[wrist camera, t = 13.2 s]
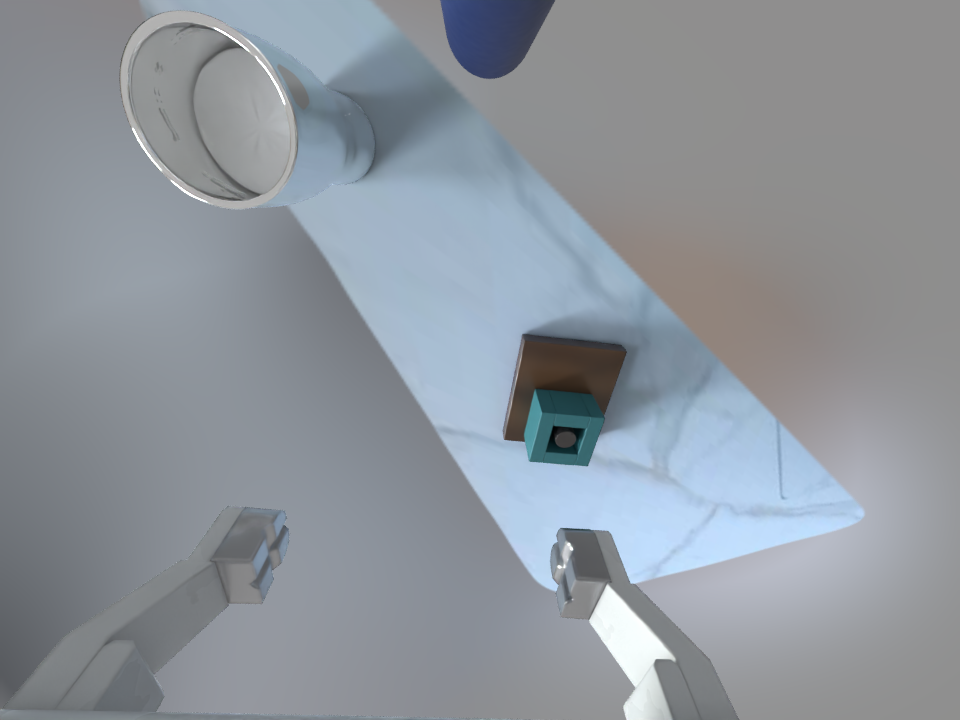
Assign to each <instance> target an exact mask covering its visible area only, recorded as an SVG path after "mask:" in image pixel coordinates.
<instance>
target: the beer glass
mask: <svg viewBox="0 0 960 720" xmlns="http://www.w3.org/2000/svg"><path fill="white" fill-rule="evenodd" d="M120 91H121V97H122V102H123V107H124V110H125V113H126V116H127V119H128V122H129V124H130V126H131V128H132V131H133V133H134V135H135V137H136V138H137V140H138V142H139V144H140V145H141V147H142V148H143V150H144V152H145V153H146V154H147V156H148V157H149V158H150V160H151V161H152V162H153V163H154V165H155V166H156V167H157V168H158V169H159V170H160V171H161V172H162V173H163V174H164V175H165V176H166V177H167V178H168V179H169V180H170V181H171V182H173V183H174V184H175V185H177V186H178V187H179V188H180V189H182V190H183V191H185V192H186V193H188V194H189V195H191V196H193V197H195V198H197V199H199V200H201V201H203V202H205V203H208V204H211V205H214V206H217V207H222V208H228V209H250V208H256V207H257V208H259V207H276V206H284V205H290V204H295V203H298V202H301V201H304V200H307V199H310V198H313V197H315V196H317V195H318V194H320V193H321V192H323V191H324V190H326V189H327V188H329V187H330V186H331V185H332V184H334V185H347V184H351V183H354V182H356V181H358V180H359V179H361V178H362V177H363V176H364V175H365V174H366V173H367V171H368V170H369V168H370V167H371V164H372V162H373V159H374V154H375V138H374V133H373V130H372V127H371V124H370V122H369V120H368V118H367V116H366V114H365V113H364V112H363V110H362V109H361V108H360V107H359V106H358V105H357V104H356V103H355V102H354V101H353V100H352V99H350V98H349V97H347V96H346V95H344V94H342V93H339V92H336V91H332V90H328V89H327V87H326V86H325V85H324V84H323V83H322V82H321V81H320V80H319V79H318V78H317V77H316V75H315V74H314V73H313V72H312V71H311V70H310V69H308V68H307V67H306V66H305V65H304V64H303V63H301V62H300V61H298V60H297V59H296V58H294V57H293V56H291V55H290V54H288V53H287V52H285V51H284V50H282V49H281V48H279V47H277V46H275V45H273V44H271V43H269V42H268V41H266V40H264V39H262V38H260V37H258V36H255V35H253V34H251V33H248V32H246V31H243V30H241V29H238V28H236V27H233V26H230V25H228V24H226V23H225V22H223V21H221V20H219V19H216V18H214V17H212V16H209V15H206V14H202V13H199V12H194V11H186V10H175V11H167V12H163V13H160V14H157V15H154V16H152V17H150V18H149V19H147V20H146V21H144V22H143V23H142V24H141V25H140V26H138V27H137V29H136V30H135V31H134V32H133V33H132V35H131V36H130V38H129V40H128V42H127V44H126V46H125V49H124V52H123V55H122V59H121V65H120Z"/></svg>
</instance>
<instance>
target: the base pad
mask: <svg viewBox="0 0 960 720" xmlns="http://www.w3.org/2000/svg"><path fill="white" fill-rule="evenodd" d="M626 353H627V351H626V350H625V349H624V348H623V347H622V345H615V344H606V343H597V342H588V341H579V340H570V339H561V338H552V337H543V336H534V335H525V334H523V335H522V339H521V344H520V349H519V354H518V359H517V364H516V369H515V374H514V379H513V383H512V388H511V393H510V398H509V403H508V408H507V413H506V418H505V423H504V428H503V437H504V440H511V441H522V442H525V438H524V433H525V428H526V424H527V420H528V416H529V412H530V408H531V403H532V399H533V395H534V391H535V389H542V390H553V391H563V392H573V393H579V394H580V393H582V394H592V395H593V397H594V398H595V400H596V402H597V404H598V406H599V408H600V410H601V412H602V413H603V415H604V414H605V412H606V409H607V406H608V403H609V400H610V398H611V395H612V392H613V389H614V386H615V384H616V381H617V378H618V375H619V372H620V370H621V367H622V364H623V361H624V358H625V356H626ZM552 432H553V436H554V439H555V442H556V444H557V445H558V446H559V447H562V448H567V447H570V446H572V445H573V444H574V443H575V441H576V435H575V432H574V430H573V427H562V426H553V428H552Z"/></svg>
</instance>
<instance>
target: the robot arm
mask: <svg viewBox="0 0 960 720" xmlns="http://www.w3.org/2000/svg"><path fill="white" fill-rule="evenodd" d="M285 521H286V513H285V511H283V510H272V509H261V508H250V507H237V506H227V507H226V508H225V509H224V510H222V512H221V513H220V514H219V516H218V517H217V518H216V520H215V521H214V523H213V524H212V525H211V527H210V528H209V530H208V531H207V533H206V534H205V535H204V537H203V538H202V540H201V541H200V542H199V544H198V545H197V546H196V548H195V549H194V551H193V552H192V554H191V555H190V556H189V558H188V559H187V560H180V561H178V562H177V563H175V564H174V565H172V566H171V567H169V568H168V569H166V570H165V571H163V572H162V573H160V574H159V575H157V576H156V577H154V578H152V579H151V580H149V581H148V582H146V583H145V584H143V585H142V586H140V587H139V588H137V589H135V590H134V591H133V592H131V593H129V594H128V595H126V596H125V597H123V598H122V599H120V600H119V601H117V602H116V603H114V604H113V605H111V606H109V607H108V608H106V609H105V610H103V611H102V612H100V613H99V614H97V615H96V616H94V617H93V618H91V619H90V620H88V621H86V622H85V623H83V624H82V625H80V626H79V627H77V628H76V629H74V630H73V631H71V632H69V633H68V634H66V635H65V636H64V637H63V638H62V639H61V640H60V642H59V643H58V644H57V645H56V646H55V648H54V649H53V650H52V651H51V652H50V653H49V654H48V656H47V657H46V658H45V659H44V660H43V661H42V663H41V664H40V665H39V666H38V667H37V669H36V670H35V671H34V672H33V673H32V674H31V675H30V677H29V678H28V679H27V680H26V681H25V682H24V683H23V685H22V686H21V687H20V688H19V689H18V690H17V692H16V693H15V694H14V695H13V696H12V698H11V699H10V700H9V701H8V702H7V703H6V705H5V706H4V707H3V708H2V709H0V720H527V719H482V718H480V719H479V718H432V717H384V716H383V717H381V716H335V715H333V716H332V715H285V714H284V715H283V714H235V713H231V714H230V713H184V712H156V711H157V709H158V707H159V706H160V704H161V702H162V700H163V699H164V692H163V689H162V687H161V686H160V684H159V682H158V681H157V679H156V677H155V676H154V674H155V673H156V672H158V671H159V670H160V669H161V668H162V667H163V666H164V665H165V664H166V663H167V662H168V661H169V660H170V659H172V658H173V657H174V656H175V655H176V654H177V653H178V652H179V651H180V650H181V649H182V648H183V647H184V646H186V645H187V644H188V643H189V642H190V641H191V640H192V639H193V638H194V637H195V636H196V635H197V634H199V633H200V632H201V631H202V630H203V629H204V628H205V627H206V626H207V625H208V624H209V623H210V622H212V621H213V620H214V619H215V618H216V617H217V616H218V615H219V614H220V613H221V612H222V611H223V610H225V609H226V608H227V607H228V605H229V604H262V603H263V601H264V599H265V597H266V595H267V592H268V590H269V588H270V586H271V584H272V582H273V580H274V578H273V573H272V570H274V569H275V568H276V567H277V566H279V565H280V564H281V563H282V561H283V558H284V556H285V554H286V551H287V547H288V543H289V530H288V528H287V527H286V526H285V525H284V523H285ZM556 536H557V541H558V542H557V543H555V544H554V545H553V547H552V550H551V559H550V564H551V572H552V577H553V579H554V580H555V582H556V583H557V584H558V585H559V586H558V589H557V591H556V597H557V602H558V606H559V611H560V616H561V617H563V618H576V619H589V622H590V624H591V625H592V626H593V628H594V629H595V631H596V632H597V633H598V635H599V636H600V638H601V639H602V641H603V642H604V643H605V645H606V646H607V648H608V649H609V651H610V652H611V653H612V655H613V656H614V658H615V659H616V660H617V662H618V663H619V665H620V666H621V668H622V669H623V670H624V672H625V673H626V675H627V676H628V678H629V679H630V680H631V682H632V683H633V685H634V686H635V689H634V691H633V692H632V694H631V695H630V697H629V698H628V700H627V701H626V703H625V704H624V706H623V709H624V712H625V716H626V720H739V718H738V716H737V715H736V712H735V710H734V708H733V706H732V704H731V702H730V700H729V698H728V696H727V694H726V691H725V689H724V688H723V685H722V683H721V681H720V679H719V677H718V675H717V673H716V671H715V669H714V667H713V665H712V663H711V661H710V659H709V658H708V657H707V656H706V655H705V654H704V653H703V652H702V651H701V650H700V649H699V648H698V647H697V646H696V645H695V644H694V643H693V642H692V641H691V640H690V639H689V638H688V637H687V636H686V635H685V634H684V633H683V632H682V631H681V630H680V629H679V628H678V627H677V626H676V625H675V624H674V623H673V622H672V621H671V620H670V619H669V618H668V617H667V616H666V615H665V614H664V613H663V612H662V611H661V610H660V609H659V608H658V607H657V606H656V605H655V604H654V603H653V602H652V601H651V600H650V599H649V598H648V596H647V595H646V594H644V593H643V591H641V590H640V589H639V587H638V586H637V585H636V584H630V581H629V579H628V576H627V573H626V571H625V568H624V566H623V563H622V561H621V558H620V556H619V553H618V551H617V548H616V545H615V543H614V540H613V538H612V535H611V534H610V533H609V531H600V530H591V529H570V528H560V529H559V530H558V533H557V535H556ZM528 720H531V719H528Z"/></svg>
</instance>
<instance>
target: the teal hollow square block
mask: <svg viewBox="0 0 960 720" xmlns="http://www.w3.org/2000/svg"><path fill="white" fill-rule="evenodd" d="M604 420H605V417H604V415H603V413H602V412H601V410H600V408H599V406H598V404H597V402H596V400H595V398H594V397H593V395H592V394H582V393H580V394H579V393H573V392H563V391H553V390H542V389H535V391H534V395H533V399H532V403H531V408H530V412H529V416H528V420H527V424H526V428H525V433H524V438H525V443H526V448H527V453H528V458H529V461H530V462H543V463H553V464H565V465H579V466H588V464H589V462H590V459H591V456H592V453H593V450H594V448H595V445H596V442H597V439H598V437H599V434H600V431H601V428H602V426H603V423H604ZM553 426H562V427H573V430H574V432H575V435H576V441H575V443H574V444H573V445H572V446H570V447H567V448H562V447H559V446H558V445H557V444H556V442H555V439H554V436H553V432H552V428H553Z"/></svg>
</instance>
